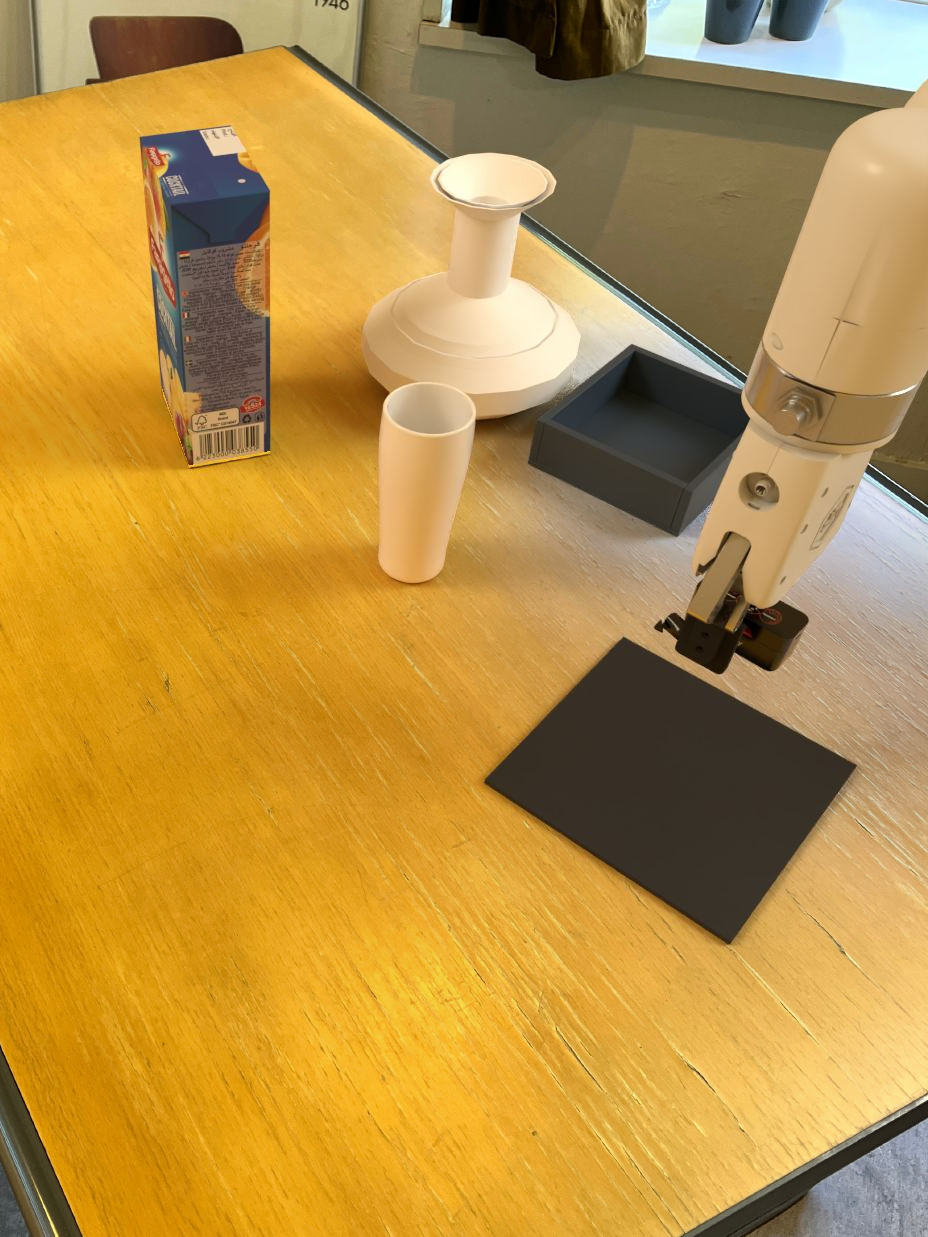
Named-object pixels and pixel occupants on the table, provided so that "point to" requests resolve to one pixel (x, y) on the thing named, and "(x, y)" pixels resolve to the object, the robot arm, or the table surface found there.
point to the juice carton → (210, 289)
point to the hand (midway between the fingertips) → (721, 635)
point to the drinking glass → (421, 476)
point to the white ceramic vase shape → (478, 300)
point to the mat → (674, 785)
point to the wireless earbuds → (757, 631)
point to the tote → (644, 437)
